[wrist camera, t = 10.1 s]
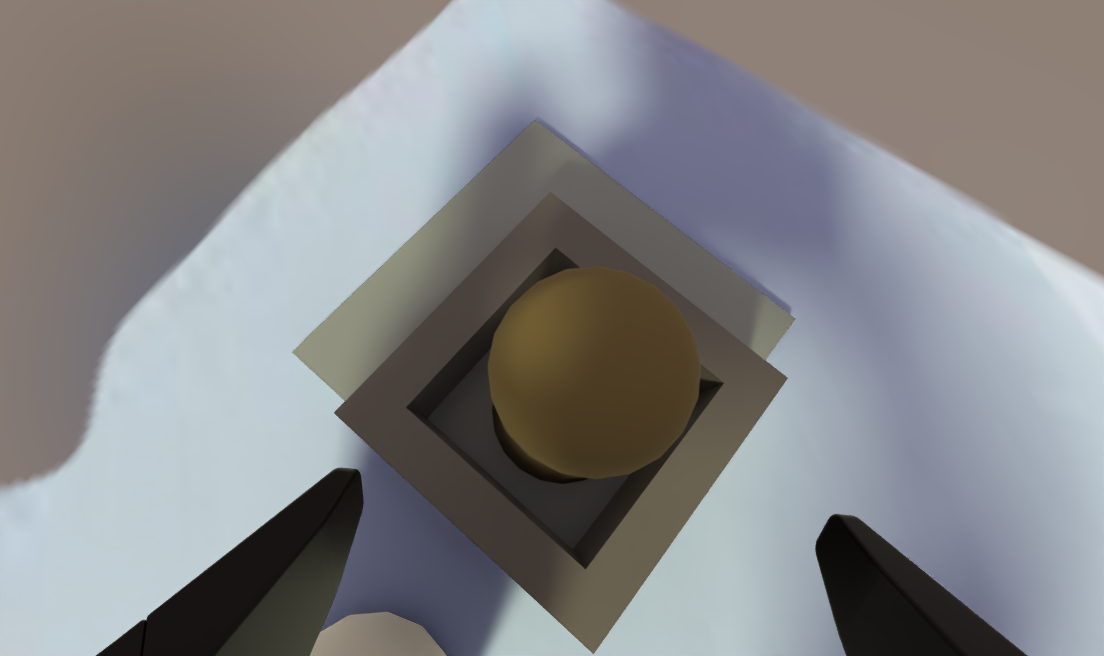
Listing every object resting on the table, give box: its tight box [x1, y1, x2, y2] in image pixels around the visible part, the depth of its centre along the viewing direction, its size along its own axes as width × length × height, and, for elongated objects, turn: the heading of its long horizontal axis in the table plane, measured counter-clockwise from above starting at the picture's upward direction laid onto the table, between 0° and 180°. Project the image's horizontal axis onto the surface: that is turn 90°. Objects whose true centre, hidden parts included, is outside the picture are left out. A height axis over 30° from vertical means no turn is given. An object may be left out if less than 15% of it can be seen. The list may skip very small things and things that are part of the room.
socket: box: [292, 120, 795, 654], centre depth 21 cm, size 16×16×5 cm
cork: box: [488, 266, 701, 484], centre depth 16 cm, size 6×6×11 cm
